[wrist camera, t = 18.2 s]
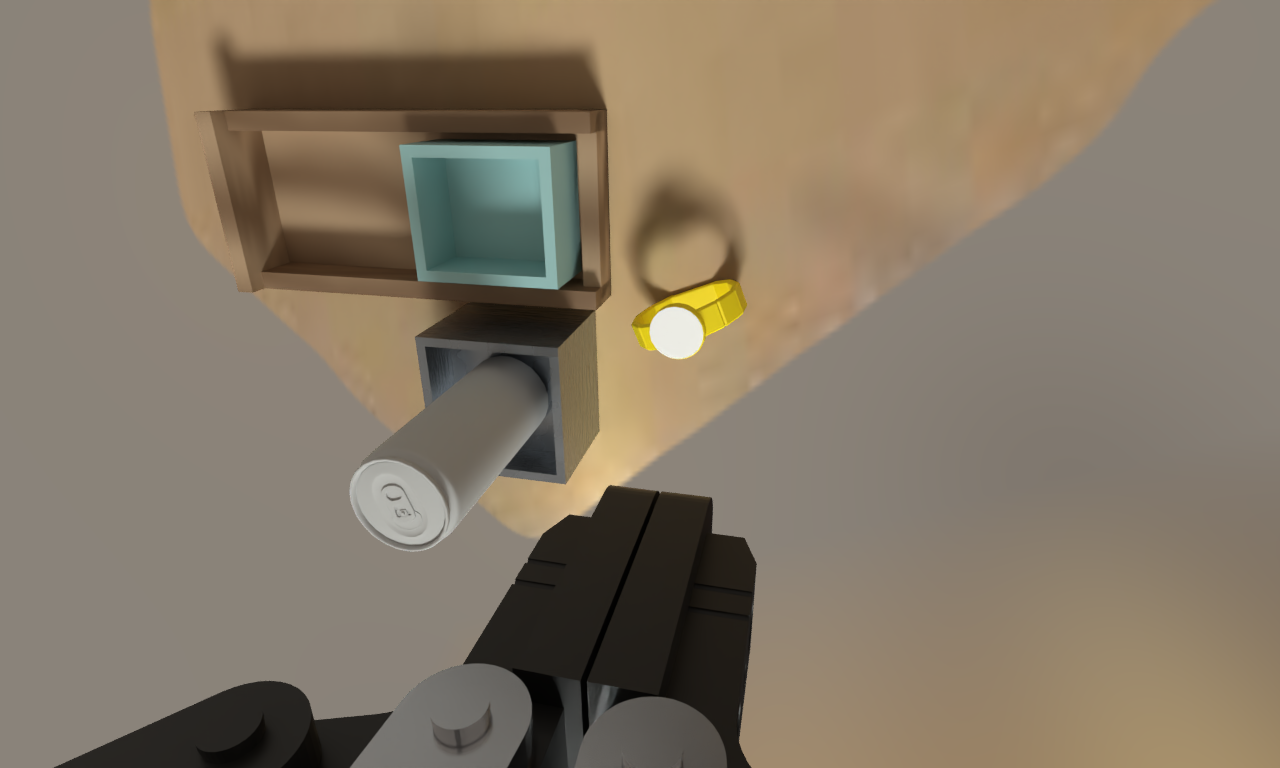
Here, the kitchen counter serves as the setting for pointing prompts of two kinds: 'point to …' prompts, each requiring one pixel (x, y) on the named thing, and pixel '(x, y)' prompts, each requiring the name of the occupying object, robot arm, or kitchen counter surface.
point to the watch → (689, 318)
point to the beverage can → (448, 455)
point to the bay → (377, 198)
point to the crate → (494, 211)
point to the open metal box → (544, 343)
